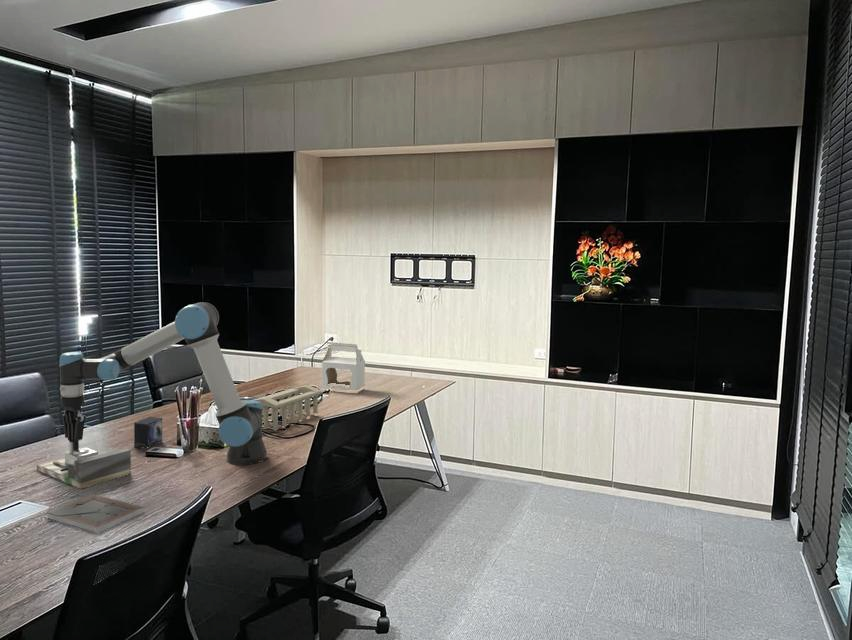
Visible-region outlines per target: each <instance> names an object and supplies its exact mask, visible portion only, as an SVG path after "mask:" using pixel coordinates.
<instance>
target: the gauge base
mask: <svg viewBox="0 0 852 640" xmlns="http://www.w3.org/2000/svg"><path fill="white" fill-rule="evenodd" d="M131 456H132V455H131V449H128V448H125V447H122V448H118V449H115V450H111V451H107V452H104V453H100V454H98V455H95V456H91V457H87V458H83V459H79V460H75V461H74V473H75V479H73V478H71V477H68V470H66V471H62V472H61V469H64V468H68V467H70V466H68V465H65V457H62V458H58V459H54V460H53V459H52V460H49V461H46V462H42V463H38V464H36V471H39V472H41V473H43V474H45V475H46V476H49V477H52V478H54V479H57V480H59V481H61V482H64V483H65V484H68V485H70V486H73V487H75V486H76V488H78V489H80V488H81V489H80V490H82V488H83V489H85V487H86V488H89V487H88V486H90V487H93V486H96V485H99V484H98V483H100V484H103V483H105V481H107V482H110V481H113V480H116V479H115V478H117V479H119V478H118V477H120V478H122V477H121V476H123V477H126V476H125V475H127V474H130V475H132V461H131V460H132V458H131ZM127 476H128V475H127ZM112 479H113V480H112ZM109 480H110V481H109ZM102 482H103V483H102ZM95 484H96V485H95ZM92 485H93V486H92Z"/></svg>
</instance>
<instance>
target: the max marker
mask: <svg viewBox="0 0 852 640" xmlns="http://www.w3.org/2000/svg"><path fill="white" fill-rule="evenodd" d="M68 477H71V478H73V479H75V473H74V467H70V468H68Z"/></svg>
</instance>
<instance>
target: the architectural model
mask: <svg viewBox="0 0 852 640" xmlns="http://www.w3.org/2000/svg"><path fill="white" fill-rule="evenodd" d="M321 394H322V389H319V388H316V387H313V386H311V385H310V384H308V385H301V386H296V387H292V388H288V389H286V390H282V391H279V392H275V393H272V394H269V395H265V396H261V397H258V398H255V399H251V400H250V401H259V402H261V403H262V409H263V410H262V424H263V423H264V425H263V426H262V429H263V428H264V429H267V428H269V408H271V415H270V416H271V420H273V422H272V431H273V430H278V431H279V426H278V425H279V422H278V419H279V416H282V419H281V427H282V426H284V427H285V426H287V425H288V423H287V421H288V420H287V418H288V416H287V414H290V416H289V418H290V419H289V420H290V421H289V424H290V423H295V424H296V420H295V419H296V416H295V415H296V414H295V411H298V415H297V416H298V417H297V418H298V420H301V419H304V418H303V415H304V412H306V415H305V417H306V416H310V417H311V399H312V398H313V400H312V401H313V402H312V403H313V404H312V409H313V410H312V414H313V413H317V414H318V398H319V396H320V395H321ZM293 395H294V396H293ZM278 400H279V401H278ZM303 405H304V407H303ZM303 408H304V411H303ZM278 415H279V416H278ZM271 420H270V421H271ZM298 420H297V421H298Z"/></svg>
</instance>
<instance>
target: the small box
mask: <svg viewBox="0 0 852 640" xmlns="http://www.w3.org/2000/svg"><path fill="white" fill-rule="evenodd" d="M133 424H134V425H133V426H134V427H133V430H134V431H133V433H134V434H133V437H134V438H133V440H134V441H133V444H134V445H133V447H134V448H138V447H144V448H143V449H148V448H147V447H149V448H151V447H153V446H152V445H154V444H156V443H158V444H159V442H160V443H162V442H163V417H157V416H148V417H145V418H142V419H140V420H138V421H135V422H133ZM161 441H162V442H161ZM156 445H157V444H156ZM150 446H151V447H150ZM154 446H155V445H154Z"/></svg>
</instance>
